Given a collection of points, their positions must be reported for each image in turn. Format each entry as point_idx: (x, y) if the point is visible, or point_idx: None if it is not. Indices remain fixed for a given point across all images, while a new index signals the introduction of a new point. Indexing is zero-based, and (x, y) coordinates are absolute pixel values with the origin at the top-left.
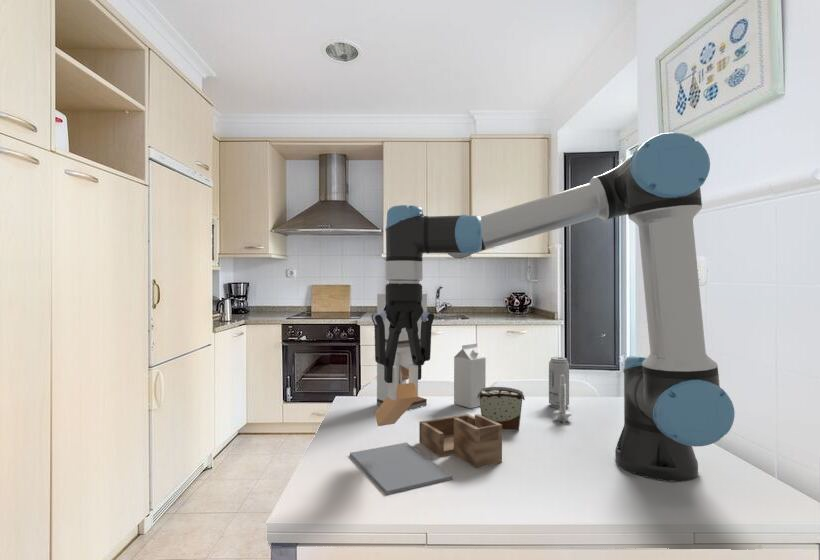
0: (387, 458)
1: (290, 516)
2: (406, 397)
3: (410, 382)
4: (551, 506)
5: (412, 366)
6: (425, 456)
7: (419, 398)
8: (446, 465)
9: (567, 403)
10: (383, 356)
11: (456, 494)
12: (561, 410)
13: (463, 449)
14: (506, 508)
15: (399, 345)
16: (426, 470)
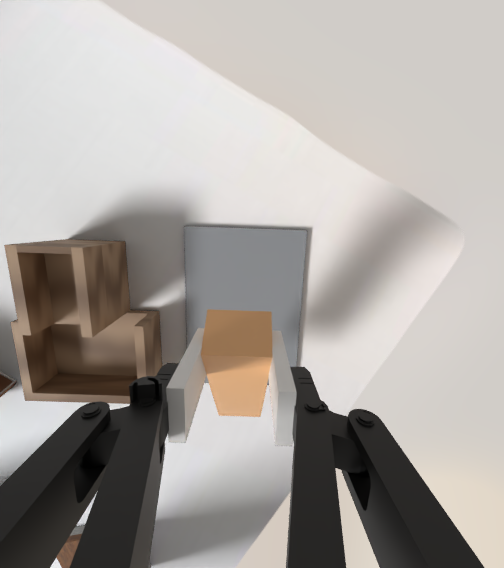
0: None
1: (451, 238)
2: (248, 312)
3: (201, 376)
4: (87, 56)
5: (186, 404)
6: (186, 315)
7: (62, 553)
8: (166, 275)
9: None
10: (373, 442)
11: (208, 175)
12: None
13: (118, 283)
14: (161, 92)
15: None
16: (213, 265)
